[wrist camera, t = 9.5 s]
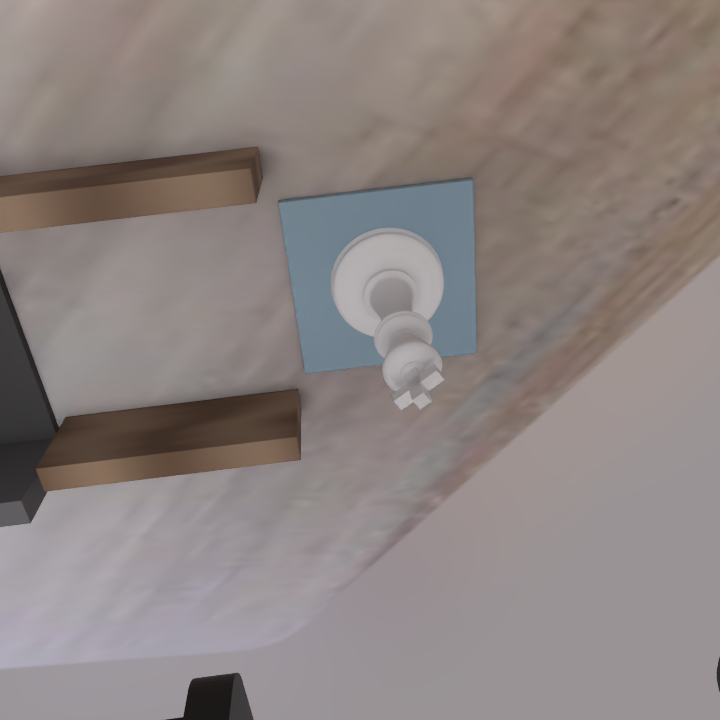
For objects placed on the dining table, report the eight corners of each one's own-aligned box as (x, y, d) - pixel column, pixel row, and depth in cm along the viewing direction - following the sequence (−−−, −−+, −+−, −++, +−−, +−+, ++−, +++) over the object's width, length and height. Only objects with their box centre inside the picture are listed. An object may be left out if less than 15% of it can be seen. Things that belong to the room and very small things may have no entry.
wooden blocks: (257, 146, 27) (250, 168, 23) (301, 410, 33) (300, 460, 29) (-21, 178, 27) (-71, 205, 23) (73, 438, 32) (44, 491, 29)
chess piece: (465, 288, 30) (531, 407, 21) (377, 353, 31) (406, 492, 22) (397, 203, 28) (440, 294, 19) (307, 276, 29) (307, 394, 20)
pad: (470, 177, 28) (473, 179, 28) (474, 349, 32) (476, 352, 31) (278, 200, 28) (278, 202, 27) (305, 369, 32) (305, 373, 31)
